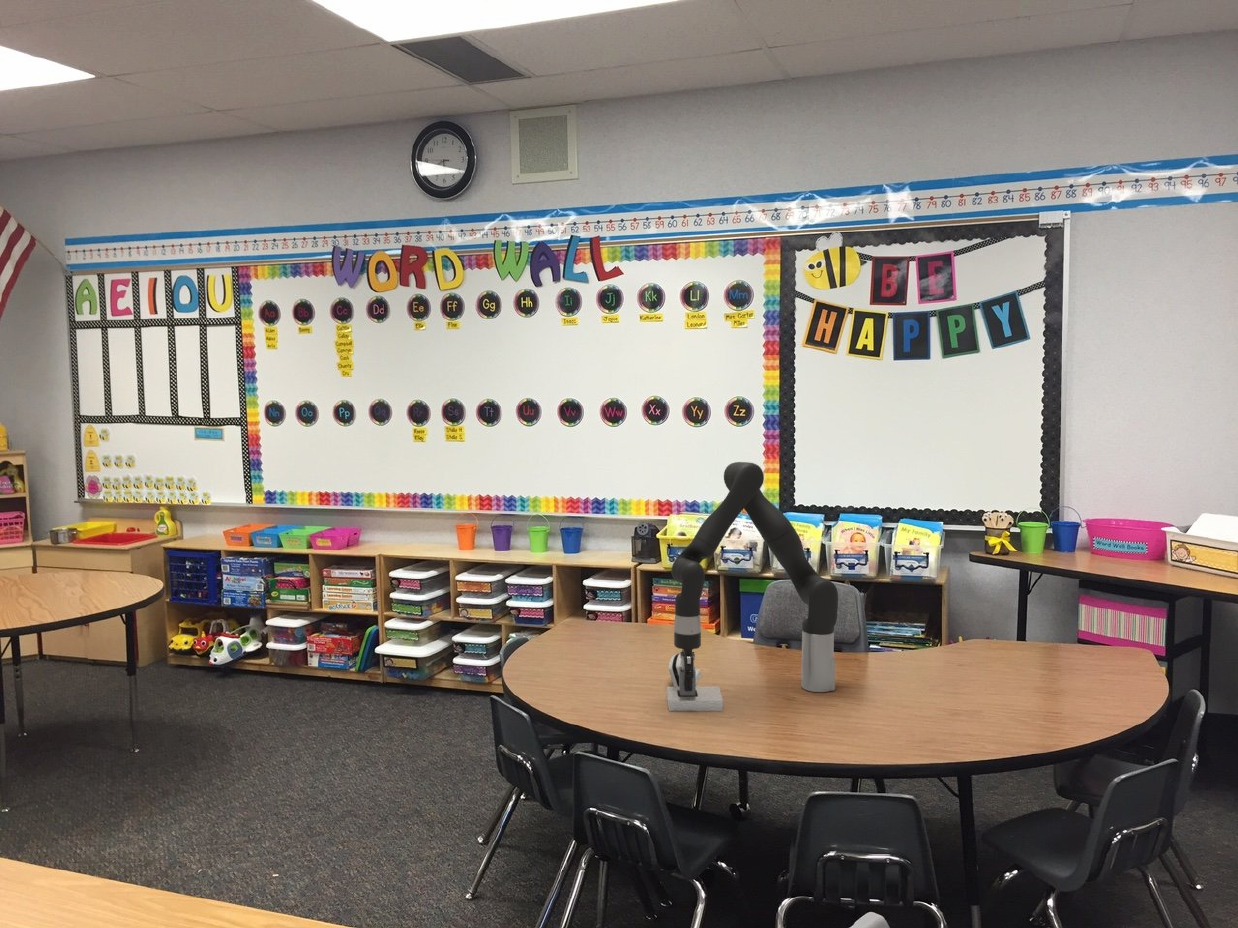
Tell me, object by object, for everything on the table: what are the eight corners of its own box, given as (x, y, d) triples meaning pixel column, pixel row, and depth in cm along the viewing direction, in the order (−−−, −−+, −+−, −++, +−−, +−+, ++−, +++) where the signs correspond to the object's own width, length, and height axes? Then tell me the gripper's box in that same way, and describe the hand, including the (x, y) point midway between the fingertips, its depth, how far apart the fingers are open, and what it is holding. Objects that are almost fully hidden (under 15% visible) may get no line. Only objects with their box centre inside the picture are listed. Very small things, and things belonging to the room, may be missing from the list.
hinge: (691, 692, 277) (680, 659, 277) (676, 696, 278) (665, 664, 278) (702, 675, 293) (691, 644, 293) (687, 678, 294) (677, 648, 294)
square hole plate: (718, 696, 273) (718, 686, 273) (723, 710, 261) (723, 700, 261) (667, 696, 273) (667, 686, 273) (668, 710, 261) (668, 700, 261)
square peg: (694, 701, 269) (694, 667, 268) (695, 706, 265) (695, 671, 264) (679, 701, 269) (679, 666, 268) (679, 706, 265) (679, 671, 264)
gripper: (702, 636, 258) (702, 694, 259) (699, 623, 272) (698, 678, 274) (675, 636, 258) (675, 694, 259) (673, 623, 272) (672, 678, 274)
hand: (687, 686), depth 266 cm, fingers open, 8 cm apart
